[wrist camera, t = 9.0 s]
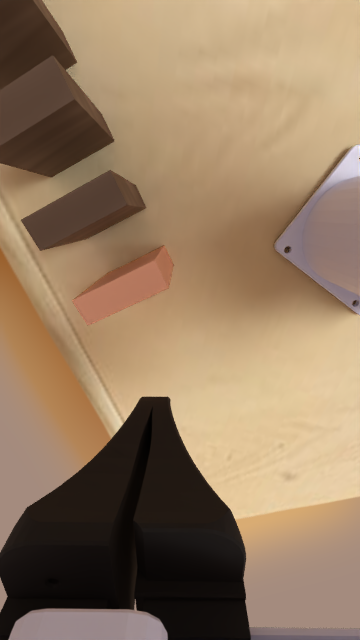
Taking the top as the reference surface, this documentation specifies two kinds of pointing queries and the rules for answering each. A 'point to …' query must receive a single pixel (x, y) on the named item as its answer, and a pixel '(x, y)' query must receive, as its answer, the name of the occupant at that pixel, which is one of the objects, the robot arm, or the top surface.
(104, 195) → the domino
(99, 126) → the domino
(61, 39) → the domino
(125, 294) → the terracotta domino
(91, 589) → the robot arm
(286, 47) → the top surface
